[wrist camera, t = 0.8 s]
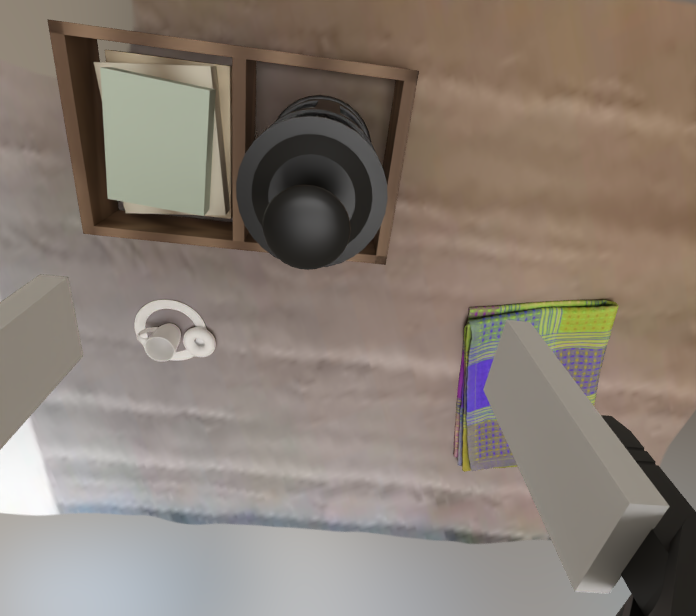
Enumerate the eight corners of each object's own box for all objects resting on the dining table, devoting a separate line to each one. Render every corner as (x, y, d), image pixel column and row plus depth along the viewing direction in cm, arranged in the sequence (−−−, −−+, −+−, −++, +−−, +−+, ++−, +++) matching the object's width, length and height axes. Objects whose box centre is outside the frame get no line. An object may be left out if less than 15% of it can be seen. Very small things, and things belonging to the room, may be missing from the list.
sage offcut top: (117, 192, 39) (107, 198, 38) (112, 67, 35) (100, 67, 33) (209, 209, 40) (203, 216, 39) (215, 89, 36) (209, 90, 34)
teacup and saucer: (228, 334, 51) (220, 354, 47) (185, 373, 53) (174, 395, 50) (164, 283, 48) (150, 301, 44) (121, 327, 50) (105, 348, 46)
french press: (277, 75, 38) (212, 83, 18) (384, 100, 39) (435, 134, 19) (261, 208, 44) (197, 329, 23) (355, 226, 45) (371, 357, 24)
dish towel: (617, 293, 50) (632, 305, 47) (578, 451, 61) (588, 467, 59) (460, 305, 50) (467, 317, 47) (451, 460, 61) (456, 476, 59)
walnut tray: (108, 216, 44) (83, 233, 39) (82, 25, 36) (47, 19, 32) (380, 245, 46) (385, 264, 41) (409, 70, 38) (418, 70, 34)
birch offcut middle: (134, 207, 42) (125, 213, 40) (105, 62, 36) (93, 61, 35) (230, 209, 42) (225, 215, 41) (216, 66, 37) (210, 66, 35)
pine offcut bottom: (132, 201, 44) (123, 207, 42) (115, 50, 38) (104, 49, 36) (234, 212, 45) (230, 218, 43) (234, 66, 39) (229, 66, 37)
